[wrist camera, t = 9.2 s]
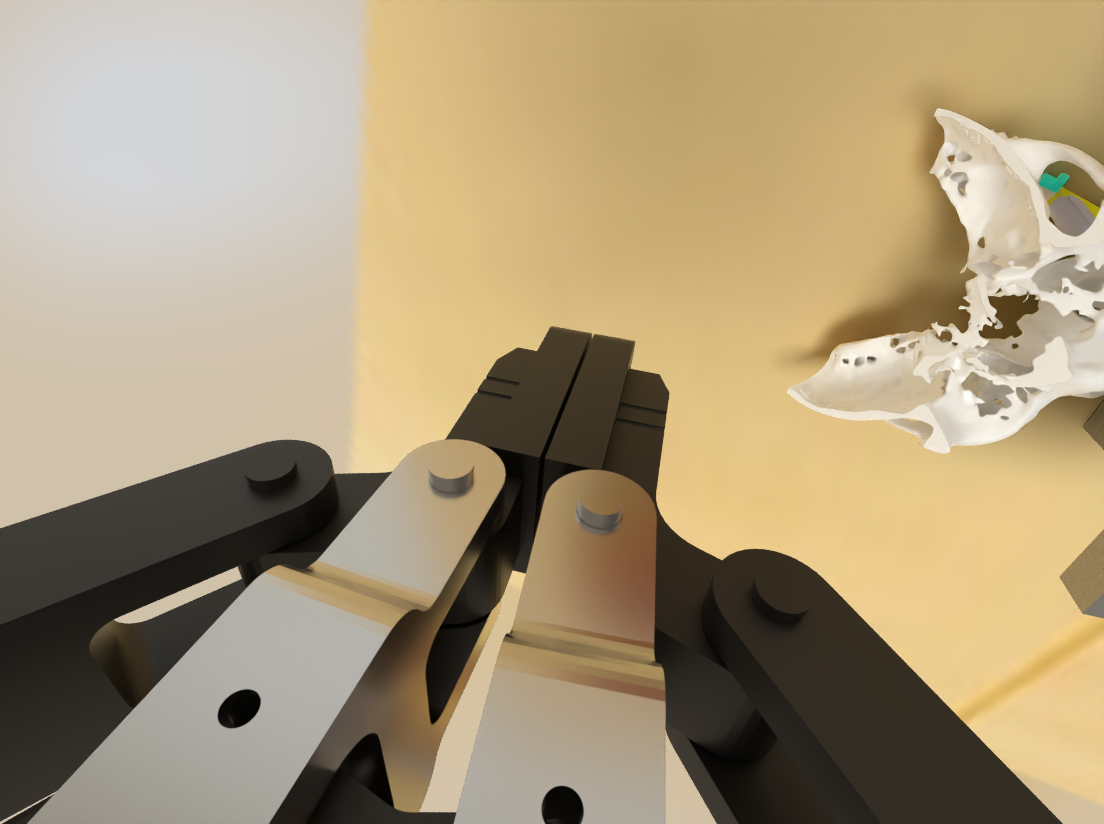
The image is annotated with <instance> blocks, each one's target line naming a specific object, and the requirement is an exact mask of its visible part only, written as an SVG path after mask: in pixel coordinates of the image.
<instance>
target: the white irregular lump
mask: <svg viewBox="0 0 1104 824" xmlns="http://www.w3.org/2000/svg"><path fill="white" fill-rule="evenodd" d="M934 117H935V118H936V119H937V121H938V123H939V124H941V125H942V127H943V129H944V133H945V143H944V144H943V146H942V147H941V149H940V152H939V154H938V157H937V159H936V161H935V163H934V166H933V167H932V169H931V171H930V174H935V175H936V177H937V178H938V179H939V181H940V184H941V187H942V189H944V190H945V192H946V194H947V196H948V198H949V199H950V201H951V203H952V204H953V205H954V206H955V208H956V211H957V213H958V215H959V218H960V221H961V223H962V224H963V225H964V226H965V228H966V231H967V236H968V242H969V254H968V256H967V258H968V262H967V263H966V265H965V267H964V268H963V269H962V270H961V272H960V273H963V272H964V271H965V270H966V268H967V267H968V268H969V269H970V270H971V271H973V272H975V273H976V274H977V276H976V277H975V278H974V279H970V280H968V281H967V282H966V291H967V296H965V297H963V299H965V300H966V301H968V302H969V303H970V306H969V307H964V306H960V307H959V309H967V312H969V313H970V314H971V318H970V321H969V322H968V324H969V323H971V325H970V324H969V328H968V330H967V331H966V332H965V333H961V332H960V331H959V330H958V329H957V328H956V326H955V325H954V324H952V323H951V324H949V327H942V326H939V325H938V324H937V322H936V323H931V325H932V328H933V330H930V329H927V330H925V331H923V332H916V331H910V332H909V333H902V334H900V333H895V334H893V335H885V336H882V337H877V338H872V339H864V340H862V341H854V342H849V343H844V344H840V345H838V346H837V347H836V348H835V349H834V350H833V351H832V353H831V355H830V358H829V360H828V361H827V363H826V364H825V366H824V367H823V368H822V369H821V370H820V371H818V372H817V373H816V374H815V375H813V376H812V377H810V378H809V379H807V380H805V381H802V382H799V383H797V384H795V385H793V386H791V387H790V388H789V390H788V392H787V393H788V394H789V395H790V396H792V397H793V398H794V399H795V400H797V401H798V402H800V403H801V404H803V405H805V406H807V407H808V408H810V409H812V410H814V411H817V412H820V413H822V414H825V415H828V416H832V417H836V418H842V419H848V420H860V421H861V420H885V421H887V422H888V423H890V424H891V425H893V426H895V427H897V428H899V429H901V430H904V431H907V432H909V433H911V434H913V435H915V436H917V437H919V438H920V439H921V440H920V441H919V444H920V445H921V446H922V447H923V448H925V449H928V450H931V451H935V452H938V453H943V454H945V453H949V452H950V448H951V447H952V446H955V445H963V446H975V445H983V444H989V443H993V442H997V441H1000V440H1002V439H1005V438H1007V437H1009V436H1011V435H1013V434H1015V433H1016V432H1018V431H1019V430H1020V429H1021V428H1022V427H1023V426H1024V425H1025V424H1026V423H1028V422H1029V421H1031V420H1032V419H1034V418H1035V417H1036V416H1037V414H1038V412H1039V411H1040V410H1041V409H1042V408H1043V407H1045V406H1046V405H1048V404H1049V403H1050V402H1051V401H1053V400H1054V399H1056V398H1058V397H1061V396H1068V395H1072V396H1077V397H1085V398H1097V397H1100V396H1103V395H1104V200H1103V201H1102V203H1101V206H1100V207H1098V206H1096V205H1094V204H1092V203H1091V202H1089V201H1087V200H1085V199H1083V198H1082V197H1080V196H1078V195H1076V194H1074V193H1073V192H1071V191H1069V190H1067V189H1066V188H1064V187H1062V186H1063V185H1064V184H1065V183H1066V182H1067V181H1068V179H1069V178H1070V177H1069V175H1067V174H1065V173H1061V174H1060V175H1059V176H1058V177H1056V178H1055V177H1053V176H1051V175H1049V174H1047V173H1044V174H1043V172H1044V170H1045V168H1046V167H1047V166H1048V165H1050V164H1051V163H1054V162H1057V161H1068V162H1070V163H1072V164H1074V165H1076V166H1078V167H1080V168H1081V169H1083V170H1084V171H1086V172H1087V173H1088V174H1089V175H1090V176H1091V178H1092V179H1093V181H1094V182H1095V183H1096V184H1097V186H1098V187H1099V188H1100V189H1101V190H1102V191H1103V192H1104V166H1103V165H1101V164H1100V163H1099V162H1098V161H1097V160H1095V159H1094V158H1092V157H1091V156H1089V155H1088V154H1086V153H1084V152H1083V151H1081V150H1079V149H1077V148H1074V147H1072V146H1069V145H1066V144H1062V143H1057V142H1052V141H1041V140H1034V139H1028V138H1018V137H1017V136H1015V137H1013V138H1008V137H1007V136H1006V134H1005V133H1004V132H1000V133H996V132H995V131H994V130H993V129H992V130H989V129H987V128H985V127H984V126H982V125H980V124H978V123H977V122H974V121H972V120H970V119H968V118H966V117H964V116H961V115H959V114H957V113H954V112H952V111H949V110H945V109H940V108H937V110H936V112H935V114H934ZM950 155H954V156H955V158H954V161H951V162H949V161H948V156H950ZM959 190H960V191H961V192H962V193H963V195H962V194H961V192H959ZM1049 217H1050V218H1052V219H1053V221H1054V223H1055V226H1056V227H1057V228H1056V227H1055V226H1054V225H1053V224H1052V223H1051V222H1050V221H1049ZM982 237H984V239H985V247H984V248H982V247H980V246H978V241H979V239H980V238H982ZM1067 255H1074V257H1071V258H1067V259H1063V260H1059V261H1056V260H1058V259H1060V258H1062V257H1064V256H1067ZM999 288H1001V289H1002V290H1001V292H999V293H997V294H995V293H996V292H997V291H998V289H999ZM1027 291H1028V292H1029V293H1030V294H1031V295H1036V298H1035V300H1038V299H1040V300H1039V304H1038V308H1039V310H1038V311H1037V312H1036V313H1034V314H1025V315H1023V316H1022V318H1021V319H1020V320H1018V321H1017V325H1018V326H1019V328H1020V330H1021V331H1022V335H1020V336H1018V337H1016V338H1014V337H1013V336H1010V337H1009V338H1006V339H998V338H994V339H984V338H982V337H980V335H979V332H978V331H979V330H981V331H982V328H983V325H984V324H987V325H989V326H992V323H993V322H994V323H996V322H997V325H996V326H995V328H996V329H1000V328H1002V327H1003V325H1002V323H1001V322H1000V321H999V320H998V319H997V318H996V317H995V314H996V312H997V311H996V309H995V308H993V307H992V306H991V305H990V303H989V300H988V296H997V297H1001V296H1003V295H1007V296H1010V295H1016V296H1022V295H1025V294H1027ZM1028 296H1029V294H1028ZM1028 296H1027V298H1026V300H1027V299H1028ZM1026 300H1025V301H1026ZM1094 308H1098V309H1100V310H1096V309H1094ZM1075 310H1079V314H1080V315H1086V316H1087V317H1089V318H1091V319H1089V318H1086V317H1083V316H1080V315H1078V314H1077V313H1076V312H1075ZM987 317H989V318H990V319H991V321H992V322H990V321H989V320H988V319H987ZM995 321H996V322H995ZM978 324H979V326H977V325H978ZM944 329H948V330H944ZM941 332H950V333H952V340H951V341H947V340H946V339H944V340H942V342H941V341H940V340H939V339H938V338H937V337H936V335H935V334H938V336H940V335H941ZM893 338H896V339H898V340H899V344H898V345H897V346H896V345H894V342H893ZM905 340H906V341H905ZM915 341H919V342H916V343H912V342H915ZM952 342H956V343H957V345H953V344H952ZM910 343H912V344H910ZM1015 343H1017V344H1018V345H1019V347H1018V348H1016V349H1013V348H1012V345H1013V344H1015ZM843 359H845V361H844V360H843ZM978 391H980V393H978V394H977V395H976V396H975V393H976V392H978ZM996 399H999V400H1000V401H1001V403H1000V404H996V403H995V400H996ZM1001 406H1004V407H1003V408H1001ZM904 418H909V419H916V420H920V421H909V420H906V419H904Z"/></svg>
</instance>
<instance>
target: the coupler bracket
mask: <svg viewBox="0 0 1104 824" xmlns="http://www.w3.org/2000/svg"><path fill="white" fill-rule="evenodd" d="M1083 428H1084V429H1085V430H1086V431H1087V432H1088V433H1089V434H1090V435H1091V437H1092V438H1093V439H1094V440H1095V441H1096V442H1097V443H1098V444H1099V445H1100V446H1101V447H1102V449H1103V450H1104V401H1103V402H1102V403H1101V405H1100V406H1099V407H1098V408H1097V410H1096V411H1095V412H1094V413H1093V415H1092V416H1091V417H1090V419H1089V420H1088V421H1087V422H1086V424H1085V425H1084V426H1083ZM1060 579H1061V580H1062V582H1063V583H1064V585H1065V587H1066V588H1067V590H1068V591H1069V593H1070V595H1071V596H1072V598H1073V599H1074V601H1075V603H1076V604H1077V606H1078V607H1079V609H1080V610H1081V612H1082V614H1087V615H1091V616H1096V617H1100V618H1104V530H1103V531H1102V532H1101V533H1100V534H1099V535H1098V536H1097V537H1096V538H1095V539H1094V540H1093V541H1092V543H1091V544H1090V545H1089V546H1088V547H1087V548H1086V549H1085V550H1084V551H1083V552H1082V553H1081V554H1080V555H1079V556H1078V557H1077V558H1076V560H1075V561H1074V562H1073V563H1072V564H1071V565H1070V566H1069V567H1068V568H1067V569H1066V570H1065V571H1064V572H1063V573H1062V574H1061V576H1060Z"/></svg>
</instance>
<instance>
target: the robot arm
mask: <svg viewBox="0 0 1104 824" xmlns="http://www.w3.org/2000/svg"><path fill="white" fill-rule="evenodd" d="M634 347H635V341H631V340H625V339H620V338H614V337H609V336H603V335H598V334H594V336H593V339H592V333H586V332H581V331H575V330H570V329H565V328H559V327H554V326H551V327H550V329H549V331H548V332H547V334H546V336H545V338H544V340H543V342H542V343H541V345H540V347H539V349H538V351H533V350H528V349H523V348H516V349H514V350H513V351H511V352H509V353H508V354H506V355H504V356H502V357H501V358H499V359H497V361H496V362H495V364H494V365H493V367H492V368H491V370H490V372H489V373H488V375H487V377H486V379H484V381H483V382H482V384H481V385H480V387H479V388H478V392H477V393H475V395H474V396H473V398H472V399H471V401H470V402H469V404H468V405H467V407H466V408H465V410H464V412H463V413H462V415H461V416H460V418H459V419H458V421H457V422H456V424H455V425H454V427H453V428H452V430H451V432H450V433H449V435H448V436H447V438H446V439H445V440H440V441H435V442H431V443H428V444H425V445H423V446H421V447H419V448H417V449H415V450H413V451H412V452H411V453H409V454H408V455H407V456H406V457H405V458H404V459H403V460H402V461H401V462H400V464H399V465H398V466H397V467H396V468H395V469H394V471H393V472H386V473H352V474H334V470H333V465H332V461H331V459H330V456H329V455H328V454H327V453H326V452H325V450H323V449H322V448H320V447H319V446H317V445H315V444H312V443H309V442H305V441H299V440H277V441H271V442H266V443H262V444H258V445H255V446H252V447H249V448H246V449H243V450H240V451H237V452H233V453H231V454H227V455H225V456H221V457H218V458H215V459H212V460H209V461H206V462H203V463H200V464H197V465H194V466H191V467H188V468H184V469H181V470H178V471H175V472H172V473H169V474H166V475H163V476H160V477H157V478H154V479H151V480H148V481H145V482H141V483H139V484H135V485H132V486H129V487H126V488H123V489H120V490H117V491H114V492H111V493H108V494H105V495H102V496H99V497H95V498H93V499H89V500H86V501H83V502H81V503H77V504H74V505H71V506H68V507H65V508H62V509H59V510H56V511H53V512H49V513H46V514H43V515H40V516H37V517H34V518H31V519H28V520H25V521H22V522H19V523H16V524H13V525H10V526H6V527H4V528H0V821H2V820H4V819H6V818H8V817H10V816H11V815H13V814H15V813H17V812H19V811H21V810H23V809H24V808H26V807H28V806H30V805H32V804H34V803H35V802H37V801H39V800H41V799H43V798H45V797H47V796H49V795H50V794H52V793H54V792H56V791H57V792H56V793H55V794H53V795H52V796H50V797H48V798H47V799H45V800H43V801H41V802H39V803H38V804H36V805H34V806H32V807H31V808H29V809H27V810H25V811H24V812H22V813H20V814H18V815H16V816H15V817H13V818H11V819H9V820H8V821H6V822H4V823H2V824H665V729H666V732H667V735H668V737H669V740H670V742H671V744H672V745H673V748H674V749H675V751H676V753H677V754H678V756H679V758H680V760H681V761H682V763H683V765H684V766H685V769H686V770H687V772H688V774H689V776H690V777H691V779H692V781H693V783H694V784H695V786H696V788H697V790H698V791H699V793H700V795H701V797H702V798H703V800H704V802H705V804H706V805H707V807H708V809H709V810H710V812H711V814H712V816H713V818H714V819H715V821H716V823H717V824H1062V822H1061V821H1060V820H1059V819H1057V817H1056V816H1055V815H1054V814H1053V813H1052V812H1051V811H1050V810H1049V809H1048V808H1047V807H1046V806H1045V805H1044V804H1043V803H1042V802H1041V801H1040V800H1039V799H1038V798H1037V797H1036V796H1035V795H1034V794H1033V793H1032V792H1031V791H1030V790H1029V789H1028V788H1027V787H1026V786H1025V785H1024V784H1023V783H1022V782H1021V781H1020V779H1018V777H1017V776H1016V775H1015V774H1014V773H1013V772H1012V771H1011V770H1010V769H1009V768H1008V767H1007V766H1006V765H1005V764H1004V763H1003V762H1002V761H1001V760H1000V759H999V758H998V757H997V756H996V755H995V754H994V753H993V752H992V751H991V750H990V749H989V748H988V747H987V746H986V745H985V744H984V743H983V742H982V741H981V740H980V738H979V737H978V736H977V735H976V734H975V733H974V732H973V731H972V730H971V729H970V728H969V727H968V726H967V725H966V724H965V723H964V722H963V721H962V720H961V719H960V718H959V717H958V716H957V715H956V714H955V713H954V712H953V711H952V710H951V709H950V708H949V707H948V706H947V705H946V704H945V703H944V702H943V701H942V700H941V699H940V697H939V696H938V695H937V694H936V693H935V692H934V691H933V690H932V689H931V688H930V687H929V686H928V685H927V684H926V683H925V682H924V681H923V680H922V679H921V678H920V677H919V676H918V675H917V674H916V673H915V672H914V671H913V670H912V669H911V668H910V667H909V666H908V665H907V664H906V663H905V662H904V661H903V660H902V659H901V658H900V657H899V655H898V654H897V653H896V652H895V651H894V650H893V649H892V648H891V647H890V646H889V645H888V644H887V643H886V642H885V641H884V640H883V639H882V638H881V637H880V636H879V635H878V634H877V633H876V632H875V631H874V630H873V629H872V628H871V627H870V626H869V625H868V624H867V623H866V622H865V621H864V620H863V619H862V618H861V617H860V616H859V615H858V614H857V612H856V611H855V610H854V609H853V608H852V607H851V606H850V605H849V604H848V603H847V602H846V601H845V600H844V599H843V598H842V597H841V596H840V595H839V594H838V593H837V592H836V591H835V590H834V589H833V588H832V587H831V586H830V585H829V584H828V583H827V582H826V581H825V580H824V579H823V578H822V577H821V576H820V575H819V574H818V573H817V572H815V571H814V570H812V569H811V568H810V567H808V566H807V565H805V564H803V563H802V562H800V561H798V560H796V559H794V558H792V557H790V556H787V555H785V554H782V553H779V552H775V551H770V550H765V549H747V550H742V551H738V552H735V553H733V554H731V555H729V556H727V557H726V558H725V559H723V560H720V559H718V558H716V557H714V556H712V555H710V554H708V553H706V552H704V551H702V550H700V549H698V548H697V547H695V546H693V545H691V544H690V543H688V542H686V541H685V540H684V539H682V538H681V537H680V536H678V535H677V534H676V533H675V532H674V531H673V530H672V529H671V528H670V527H669V526H668V524H667V523H666V522H665V521H664V519H663V517H662V516H661V514H660V512H659V509H658V507H657V502H656V489H657V482H658V474H659V467H660V459H661V452H662V444H663V437H664V429H665V422H666V414H667V407H668V400H669V391H668V389H667V388H666V386H665V384H664V382H663V380H662V378H661V376H660V375H659V374H655V373H649V372H644V371H639V370H634V369H631V363H632V358H633V353H634ZM237 566H238V569H239V571H240V574H241V576H242V579H241V580H238V581H236V582H234V583H232V584H230V585H227V586H225V587H222V588H220V589H218V590H216V591H213V592H211V593H209V594H207V595H204V596H202V597H200V598H197V599H195V600H193V601H191V602H188V603H186V604H184V605H182V606H179V607H177V608H175V609H173V610H170V611H168V612H166V613H163V614H161V615H159V616H157V617H154V618H152V619H149V620H147V621H143V622H140V623H132V624H124V623H119V622H116V621H114V619H116V618H118V617H120V616H122V615H125V614H127V613H129V612H132V611H134V610H136V609H139V608H141V607H143V606H146V605H148V604H150V603H153V602H155V601H157V600H160V599H162V598H164V597H167V596H169V595H172V594H174V593H176V592H178V591H181V590H183V589H186V588H188V587H190V586H192V585H195V584H197V583H200V582H202V581H204V580H207V579H209V578H211V577H214V576H216V575H218V574H221V573H223V572H225V571H227V570H230V569H232V568H235V567H237ZM512 570H514V571H518V572H522V573H526V576H525V580H524V584H523V588H522V592H521V596H520V600H519V604H518V608H517V612H516V616H515V619H514V624H513V627H512V630H511V632H510V633H507V634H506V635H505V637H504V639H503V642H502V644H501V647H500V651H499V654H498V657H497V661H496V665H495V668H494V672H493V676H492V680H491V683H490V687H489V691H488V695H487V699H486V703H485V706H484V710H483V714H482V718H481V722H480V726H479V729H478V733H477V737H476V741H475V745H474V748H473V752H472V756H471V760H470V763H469V767H468V771H467V775H466V779H465V783H464V787H463V791H462V794H461V798H460V802H459V806H458V809H457V813H456V812H455V813H454V812H450V813H447V812H439V813H438V812H437V813H436V812H419V811H420V808H421V806H422V803H423V801H424V798H425V796H426V793H427V790H428V787H429V784H430V781H431V777H432V774H433V770H434V766H435V761H436V756H437V752H438V749H439V746H440V743H441V740H442V737H443V734H444V732H445V730H446V727H447V725H448V723H449V721H450V719H451V717H452V715H453V713H454V710H455V708H456V706H457V704H458V702H459V700H460V697H461V695H462V693H463V691H464V689H465V687H466V685H467V682H468V680H469V678H470V676H471V674H472V672H473V669H474V667H475V665H476V663H477V661H478V659H479V657H480V654H481V652H482V650H483V648H484V646H485V644H486V642H487V640H488V637H489V635H490V633H491V631H492V629H493V627H494V624H495V622H496V620H497V618H498V615H499V612H500V606H501V598H502V596H503V594H504V592H505V589H506V586H507V584H508V581H509V578H510V576H511V573H512Z"/></svg>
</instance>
